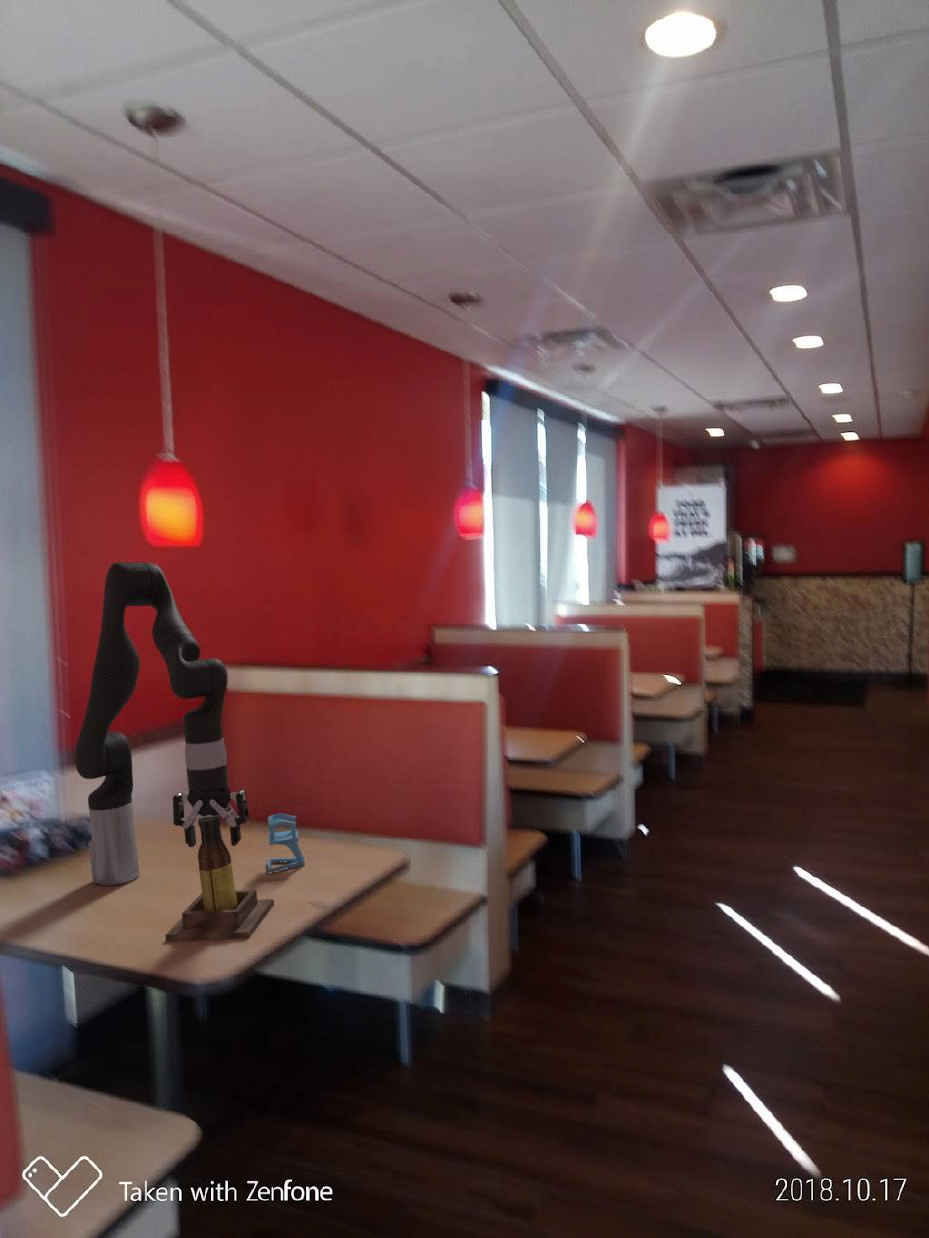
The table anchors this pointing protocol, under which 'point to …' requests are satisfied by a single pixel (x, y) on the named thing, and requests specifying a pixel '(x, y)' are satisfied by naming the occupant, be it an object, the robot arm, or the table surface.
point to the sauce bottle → (215, 867)
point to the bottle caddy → (221, 919)
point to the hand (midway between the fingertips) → (213, 845)
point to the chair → (284, 841)
